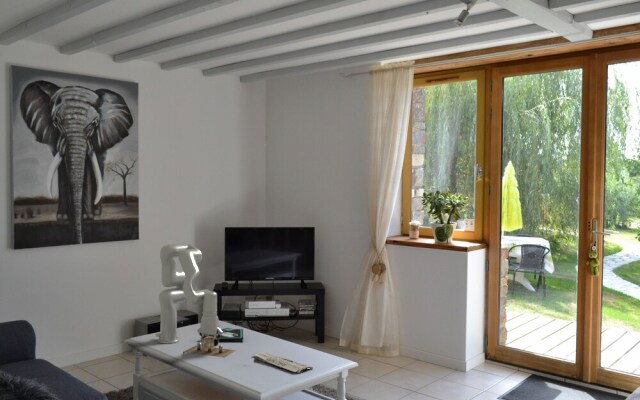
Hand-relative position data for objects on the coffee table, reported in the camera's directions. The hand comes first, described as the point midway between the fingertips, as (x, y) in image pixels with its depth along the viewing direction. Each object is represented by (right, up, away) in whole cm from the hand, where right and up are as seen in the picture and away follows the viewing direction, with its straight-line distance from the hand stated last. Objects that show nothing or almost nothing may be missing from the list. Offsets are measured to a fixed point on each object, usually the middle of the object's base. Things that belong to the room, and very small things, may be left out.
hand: (210, 344), depth 328 cm
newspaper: (+41, -7, -16) cm, 45 cm away
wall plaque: (+4, -5, +30) cm, 30 cm away
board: (0, -5, 0) cm, 5 cm away
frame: (0, 0, 0) cm, 0 cm away
